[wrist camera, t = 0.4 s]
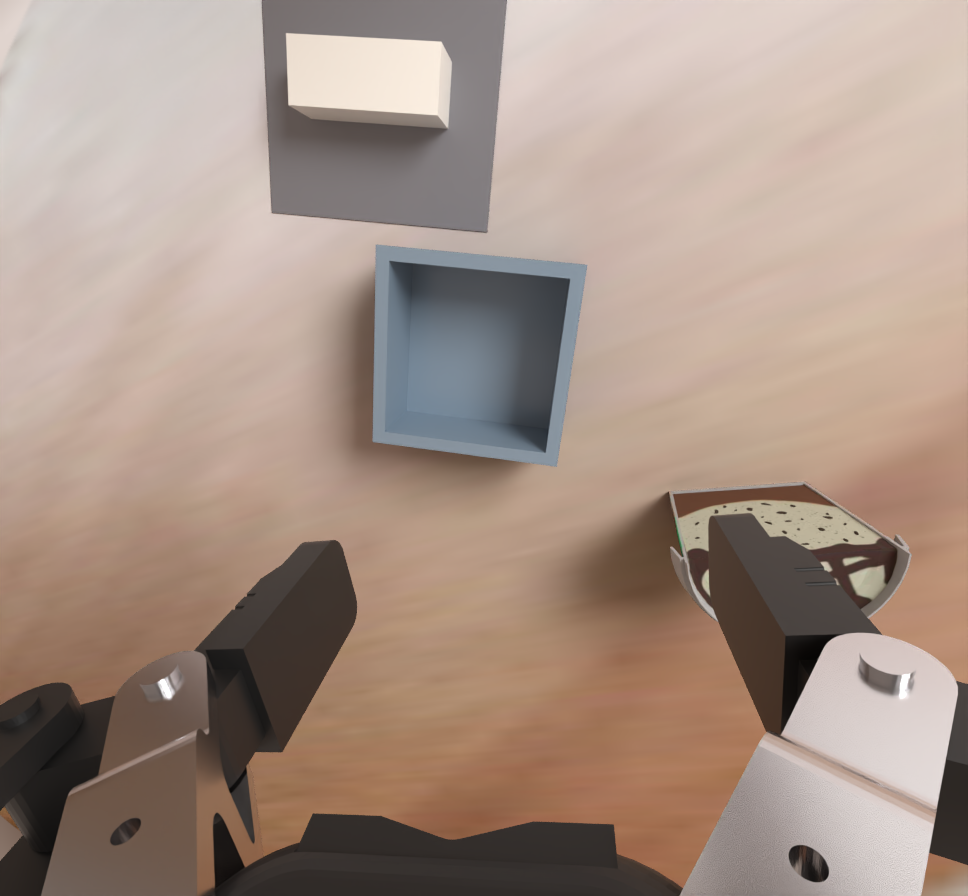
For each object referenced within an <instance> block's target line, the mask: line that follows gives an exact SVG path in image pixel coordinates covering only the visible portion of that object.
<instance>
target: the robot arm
mask: <svg viewBox="0 0 968 896" xmlns="http://www.w3.org/2000/svg"><path fill="white" fill-rule="evenodd" d="M708 549H709V590H710V597H711V602H712V606H713V610H714V613H715V615H716V618H717V620H718V622H719V624H720V627H721V629H722V631H723V634H724V636H725V638H726V640H727V643H728V645H729V647H730V650H731V652H732V654H733V657H734V659H735V661H736V663H737V666H738V668H739V670H740V673H741V675H742V677H743V679H744V682H745V684H746V686H747V689H748V691H749V693H750V695H751V698H752V700H753V702H754V705H755V707H756V709H757V711H758V714H759V716H760V718H761V721H762V723H763V725H764V727H765V730H766V732H767V733H766V734H765V735H764V736H763V738H762V739H761V741H760V743H759V744H758V746H757V748H756V750H755V752H754V754H753V756H752V758H751V760H750V762H749V763H748V765H747V767H746V769H745V771H744V773H743V775H742V777H741V779H740V781H739V783H738V785H737V786H736V788H735V790H734V792H733V794H732V796H731V798H730V800H729V802H728V804H727V806H726V808H725V809H724V811H723V813H722V815H721V817H720V819H719V821H718V823H717V825H716V827H715V829H714V831H713V832H712V834H711V836H710V838H709V840H708V842H707V844H706V846H705V848H704V850H703V852H702V854H701V855H700V857H699V859H698V861H697V863H696V865H695V867H694V869H693V871H692V873H691V875H690V877H689V878H688V880H687V882H686V884H685V886H684V888H682V887H680V886H679V885H678V884H676V883H675V882H673V881H672V880H670V879H668V878H667V877H665V876H664V875H662V874H660V873H659V872H657V871H656V870H653V869H651V868H649V867H647V866H645V865H643V864H641V863H639V862H637V861H635V860H632V859H629V858H626V857H624V856H621V855H618V854H617V853H616V843H615V833H614V825H611V824H584V823H556V822H530V823H526V824H521V825H517V826H513V827H509V828H504V829H500V830H496V831H492V832H487V833H483V834H479V835H475V836H471V837H466V838H462V839H457V840H448V839H444V838H441V837H438V836H435V835H432V834H430V833H427V832H424V831H421V830H418V829H416V828H413V827H410V826H407V825H404V824H402V823H399V822H396V821H393V820H390V819H388V818H385V817H382V816H365V815H338V814H312V817H311V819H310V821H309V823H308V826H307V828H306V830H305V832H304V835H303V837H302V839H301V841H300V843H296V844H293V845H290V846H288V847H285V848H282V849H280V850H277V851H275V852H273V853H271V854H269V855H267V856H265V857H264V854H263V846H262V838H261V831H260V823H259V816H258V808H257V800H256V793H255V785H254V777H253V773H252V770H251V768H250V766H249V761H250V760H251V758H252V756H253V755H254V753H255V752H283V750H284V748H285V746H286V745H287V743H288V741H289V739H290V737H291V736H292V734H293V732H294V730H295V729H296V727H297V725H298V723H299V721H300V720H301V718H302V716H303V714H304V713H305V711H306V709H307V707H308V705H309V704H310V702H311V700H312V698H313V697H314V695H315V693H316V691H317V689H318V688H319V686H320V684H321V682H322V681H323V679H324V677H325V675H326V673H327V672H328V670H329V668H330V666H331V665H332V663H333V661H334V659H335V657H336V656H337V654H338V652H339V650H340V649H341V647H342V645H343V643H344V641H345V640H346V638H347V636H348V634H349V633H350V631H351V629H352V627H353V625H354V623H355V619H356V614H357V601H356V595H355V592H354V588H353V585H352V581H351V577H350V574H349V570H348V566H347V563H346V559H345V556H344V552H343V549H342V547H341V545H340V543H339V542H338V541H336V540H330V541H316V542H304V543H302V544H301V545H300V546H299V547H298V548H297V549H296V550H295V551H294V552H293V553H292V555H291V556H290V557H289V558H288V559H287V560H286V561H285V562H284V563H283V564H282V565H281V566H279V567H278V568H276V569H275V570H273V571H272V572H270V573H269V574H267V575H266V576H264V577H263V578H261V579H260V581H259V582H258V583H257V584H256V585H255V586H254V587H253V588H252V589H251V590H250V591H249V592H248V593H247V597H244V598H243V599H242V600H241V601H240V602H239V603H238V604H237V605H236V606H235V610H231V612H230V613H229V614H228V615H227V616H226V617H225V618H224V619H223V620H222V621H221V622H220V623H219V624H218V625H217V627H216V628H215V629H214V630H213V631H212V632H211V633H210V634H209V635H208V636H207V637H206V638H205V639H204V640H203V642H202V643H201V644H200V645H199V646H198V647H197V648H196V649H195V650H194V651H183V652H178V653H174V654H171V655H168V656H165V657H163V658H160V659H158V660H156V661H154V662H152V663H150V664H148V665H147V666H145V667H144V668H142V669H140V670H139V671H138V672H136V673H135V674H134V675H133V676H131V677H130V678H129V679H128V680H127V681H126V682H125V683H124V684H123V685H122V686H121V688H120V689H119V690H118V692H117V694H116V695H115V696H113V697H109V698H105V699H101V700H97V701H94V702H90V703H86V704H82V705H80V703H79V701H78V700H77V698H76V696H75V694H74V692H73V690H72V688H71V687H70V685H68V684H66V683H51V684H46V685H42V686H39V687H36V688H33V689H31V690H28V691H26V692H24V693H22V694H20V695H17V696H16V697H14V698H12V699H10V700H8V701H7V702H5V703H3V704H2V705H0V810H1V809H2V808H3V807H4V806H5V808H6V809H7V811H8V813H9V814H10V816H11V817H12V819H13V820H14V822H15V823H16V825H17V827H18V828H19V830H20V831H21V833H22V834H23V836H22V837H21V838H20V839H19V840H18V842H17V843H16V844H15V845H14V846H13V847H12V848H11V850H10V851H9V852H8V853H7V854H6V855H5V856H4V857H3V859H2V860H1V861H0V896H921V893H922V887H923V882H924V876H925V871H926V866H927V860H928V855H929V853H932V854H935V855H938V856H941V857H945V858H948V859H951V860H954V861H957V862H960V863H963V864H967V865H968V684H965V683H961V682H958V681H956V680H955V678H954V677H953V675H952V674H951V672H950V671H949V670H948V669H947V668H946V667H945V666H944V665H943V664H942V663H941V662H940V661H939V660H937V659H936V658H935V657H933V656H932V655H930V654H929V653H927V652H925V651H924V650H922V649H920V648H918V647H916V646H914V645H912V644H909V643H907V642H904V641H901V640H899V639H896V638H892V637H888V636H884V635H882V634H881V633H880V632H879V630H878V629H877V628H876V627H875V626H874V625H873V623H872V622H871V621H870V620H869V619H868V618H867V616H866V615H865V614H864V613H863V612H862V611H861V609H860V608H859V607H858V606H857V605H856V604H855V602H854V601H853V600H852V599H851V598H850V597H849V595H848V594H847V593H846V592H845V591H844V590H843V588H842V587H841V586H840V585H837V583H836V580H835V579H834V578H833V577H832V576H831V574H830V573H829V572H828V571H827V570H824V566H823V565H822V564H821V563H820V562H819V561H818V559H817V558H816V557H815V556H814V555H813V554H812V552H811V551H810V550H809V549H807V548H805V547H804V546H802V545H800V544H798V543H796V542H795V541H793V540H791V539H789V538H788V537H786V536H777V537H770V536H769V535H768V533H767V532H766V531H765V529H764V528H763V527H762V525H761V524H760V523H759V522H758V520H757V519H756V518H755V516H754V515H753V514H752V513H742V514H727V515H713V516H710V518H709V524H708Z"/></svg>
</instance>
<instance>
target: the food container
mask: <svg viewBox="0 0 968 896" xmlns="http://www.w3.org/2000/svg"><path fill="white" fill-rule="evenodd" d="M669 497H670V504H671V509H672V513H673V518H674V522H675V527H676V531H677V535H678V540H679V544H680V548H681V553H682V557H681V556H680V555H679V553H678V552H677V551H676V550H675V549H674V548H673V547H670V552H671V559H672V563H673V566H674V569H675V572H676V575H677V576H678V578H679V580H680V582H681V584H682V586H683V587H684V588H685V589H686V591H687V592H688V593H689V595H690V596H691V597H692V598H693V599H694V601H695V602H696V603H697V604H698V605H699V607H700V608H701V609H702V610H703V611H705V612H706V613H707V614H708V615H709V616H710V617H711V618H713V619H714V620H716V621H717V622H718V620H717V618H716V615H715V613H714V610H713V606H712V602H711V597H710V590H709V549H708V524H709V518H710V516H713V515H727V514H742V513H752V514H753V515H754V516H755V518H756V519H757V520H758V522H759V523H760V524H761V525H762V527H763V528H764V529H765V531H766V532H767V533H768V535H769V536H770V537H777V536H786V537H788V538H789V539H791V540H793V541H795V542H796V543H798V544H800V545H802V546H804V547H805V548H807V549H809V550H810V551H811V552H812V554H813V555H814V556H815V557H816V558H817V559H818V561H819V562H820V563H821V564H822V565H823V566H824V570H827V571H828V572H829V573H830V574H831V576H832V577H833V578H834V579H835V580H836V583H837V585H840V586H841V587H842V588H843V590H844V591H845V592H846V593H847V594H848V595H849V597H850V598H851V599H852V600H853V601H854V602H855V604H856V605H857V606H858V607H859V608H860V609H861V611H862V612H863V613H864V614H865V615H866V616H867V618H870V617H871V616H872V615H874V614H875V613H876V612H877V611H878V610H880V609H881V608H882V607H883V606H884V605H885V604H886V603H887V602H888V600H889V599H890V598H891V597H892V596H893V595H894V593H895V592H896V590H897V589H898V587H899V586H900V584H901V583H902V581H903V579H904V576H905V574H906V572H907V570H908V567H909V563H910V559H911V555H912V554H911V553H910V552H909V547H908V545H907V544H906V543H905V542H904V540H903V539H902V538H901V537H900V536H899V535H895V539H894V541H893V540H892V539H890V538H889V537H887V536H886V535H884V534H883V533H881V532H880V531H878V530H877V529H875V528H874V527H872V526H871V525H869V524H868V523H866V522H865V521H863V520H862V519H861V518H859V517H858V516H856V515H855V514H853V513H852V512H850V511H849V510H847V509H846V508H844V507H843V506H841V505H840V504H838V503H837V502H835V501H834V500H832V499H831V498H829V497H828V496H826V495H825V494H823V493H822V492H820V491H819V490H817V489H816V488H814V487H813V486H811V485H810V484H808V483H807V482H794V483H780V484H766V485H751V486H737V487H723V488H709V489H695V490H681V491H669Z"/></svg>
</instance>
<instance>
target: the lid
mask: <svg viewBox="0 0 968 896" xmlns="http://www.w3.org/2000/svg"><path fill="white" fill-rule="evenodd" d="M506 5H507V0H262V12H263V34H264V55H265V76H266V97H267V119H268V140H269V161H270V182H271V204H272V213H282V214H293V215H305V216H316V217H327V218H338V219H349V220H360V221H371V222H382V223H393V224H404V225H415V226H426V227H437V228H448V229H459V230H470V231H481V232H487V227H488V216H489V204H490V192H491V180H492V169H493V157H494V145H495V134H496V122H497V110H498V99H499V87H500V75H501V63H502V52H503V40H504V28H505V17H506Z"/></svg>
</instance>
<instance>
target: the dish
mask: <svg viewBox="0 0 968 896" xmlns="http://www.w3.org/2000/svg"><path fill="white" fill-rule="evenodd" d="M586 270H587V265H583V264H573V263H562V262H552V261H541V260H531V259H521V258H510V257H500V256H489V255H479V254H468V253H458V252H447V251H437V250H426V249H416V248H406V247H395V246H385V245H376V272H375V330H374V388H373V442H377V443H384V444H392V445H399V446H406V447H414V448H421V449H429V450H436V451H444V452H451V453H459V454H466V455H474V456H481V457H489V458H496V459H503V460H511V461H518V462H526V463H533V464H541V465H548V466H556V467H557V462H558V455H559V449H560V442H561V435H562V429H563V422H564V415H565V409H566V402H567V396H568V389H569V382H570V376H571V369H572V362H573V356H574V349H575V343H576V336H577V329H578V323H579V316H580V309H581V303H582V296H583V289H584V283H585V276H586Z"/></svg>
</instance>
